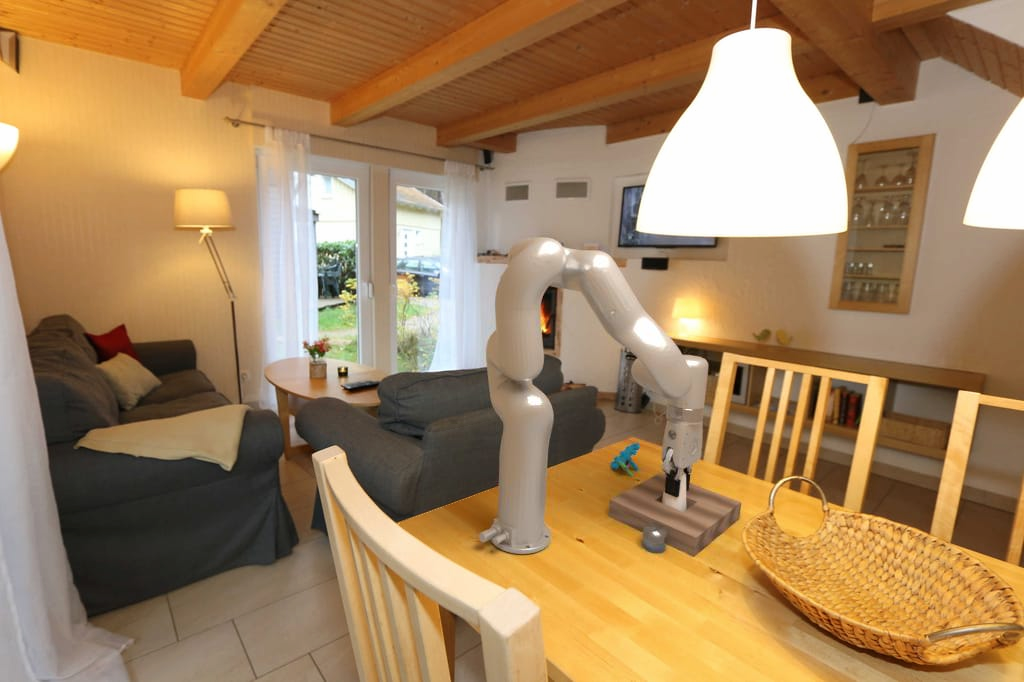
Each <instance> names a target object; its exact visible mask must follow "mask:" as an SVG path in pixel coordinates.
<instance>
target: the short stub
mask: <svg viewBox="0 0 1024 682" xmlns="http://www.w3.org/2000/svg"><path fill="white" fill-rule="evenodd" d="M666 540H667V529H666V528H665V527H664V526H663V525H660V524H657V523H647V524H645V525H644V527H643V532H642V540H641V541H642V542H641V548H643V550H645V551H646V552H648V553H650V554H655V555H657V554H658V555H659V554H663V553H665V551H666V549H667V544H666Z"/></svg>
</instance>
